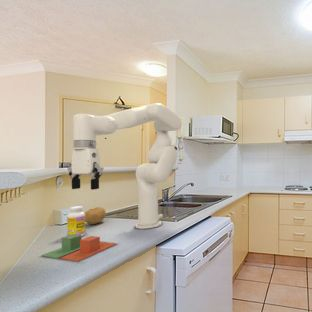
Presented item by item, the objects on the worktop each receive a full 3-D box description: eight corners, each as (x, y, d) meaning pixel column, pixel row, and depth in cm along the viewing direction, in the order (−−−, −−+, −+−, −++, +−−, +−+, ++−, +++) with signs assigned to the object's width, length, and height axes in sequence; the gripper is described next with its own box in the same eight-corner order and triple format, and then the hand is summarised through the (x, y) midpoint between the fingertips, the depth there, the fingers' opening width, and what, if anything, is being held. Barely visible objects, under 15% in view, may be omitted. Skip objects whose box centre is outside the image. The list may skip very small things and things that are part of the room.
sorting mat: (83, 240, 97) (83, 239, 97) (116, 244, 92) (116, 243, 92) (41, 256, 81) (41, 254, 82) (78, 261, 76) (78, 260, 76)
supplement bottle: (76, 238, 99) (75, 208, 100) (63, 238, 101) (63, 208, 101) (89, 234, 106) (88, 205, 106) (76, 233, 107) (76, 205, 107)
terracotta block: (90, 247, 88) (90, 235, 88) (99, 248, 87) (99, 236, 87) (80, 252, 84) (79, 239, 84) (89, 253, 82) (89, 240, 82)
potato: (76, 228, 116) (76, 212, 116) (91, 220, 130) (91, 206, 130) (97, 227, 117) (97, 211, 117) (109, 220, 131) (109, 205, 131)
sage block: (73, 245, 91) (72, 234, 91) (81, 246, 89) (81, 234, 89) (61, 249, 86) (61, 237, 86) (70, 250, 85) (70, 238, 85)
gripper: (109, 145, 93) (110, 188, 93) (77, 146, 98) (77, 187, 98) (93, 144, 86) (94, 190, 85) (59, 146, 91) (59, 189, 90)
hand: (85, 188), depth 92 cm, fingers open, 9 cm apart
